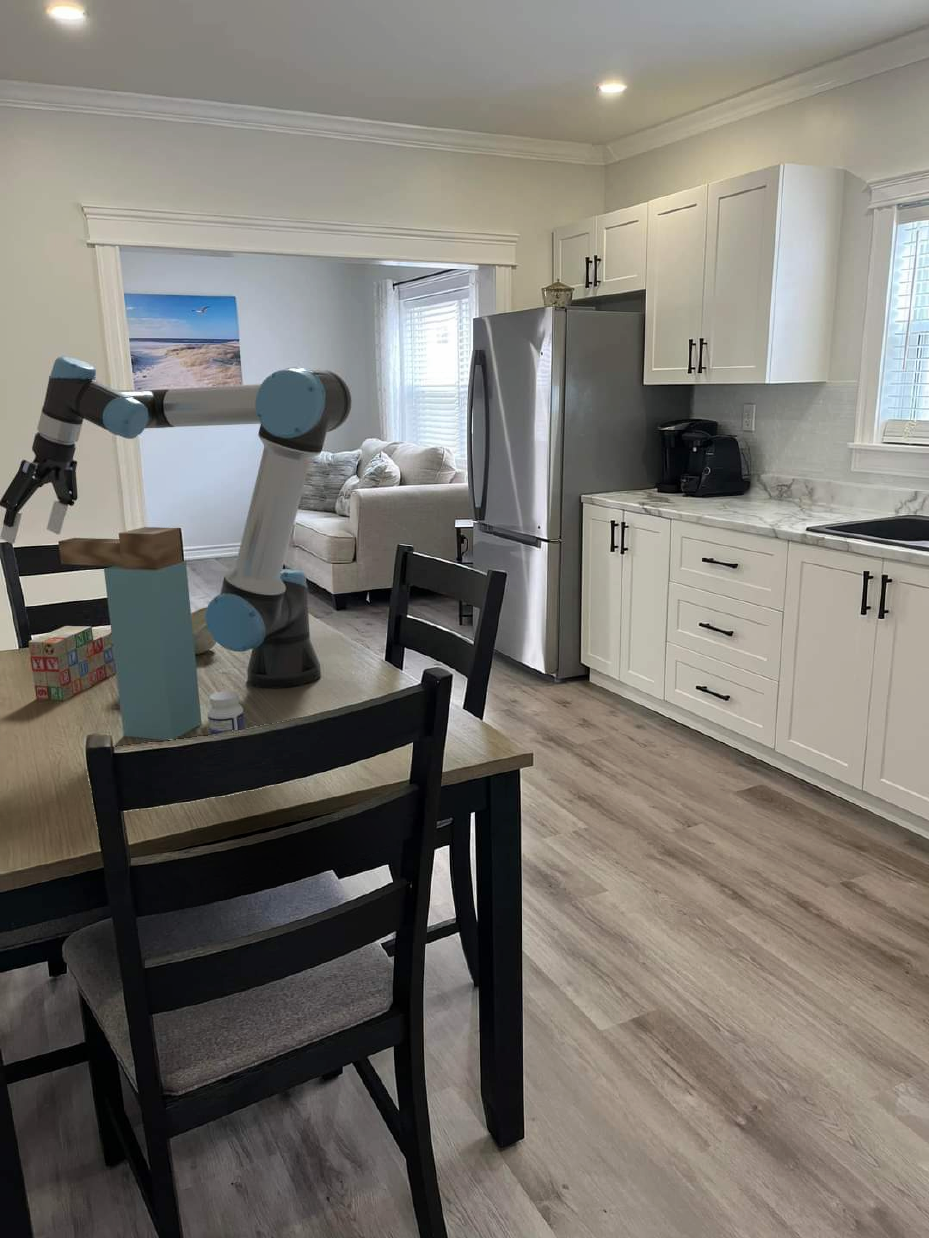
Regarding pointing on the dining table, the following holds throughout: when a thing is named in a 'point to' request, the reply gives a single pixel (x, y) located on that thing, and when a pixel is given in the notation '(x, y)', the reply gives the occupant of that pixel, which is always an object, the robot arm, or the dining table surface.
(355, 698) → the dining table surface
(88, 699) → the dining table surface
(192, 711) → the stand
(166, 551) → the brown wooden block
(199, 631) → the bowl
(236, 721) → the pill bottle
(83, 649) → the stack of blocks
